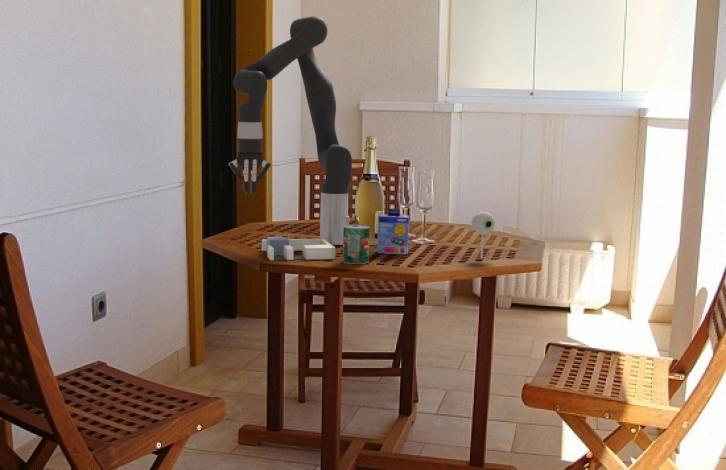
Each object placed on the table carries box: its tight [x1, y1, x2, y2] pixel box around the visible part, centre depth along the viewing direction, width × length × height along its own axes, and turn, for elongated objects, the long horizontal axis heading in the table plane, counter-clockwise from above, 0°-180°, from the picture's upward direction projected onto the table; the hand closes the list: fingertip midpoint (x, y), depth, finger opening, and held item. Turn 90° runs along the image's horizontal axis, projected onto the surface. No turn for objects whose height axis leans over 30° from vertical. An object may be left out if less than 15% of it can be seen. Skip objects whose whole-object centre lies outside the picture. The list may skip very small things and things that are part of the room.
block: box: [266, 236, 290, 256], centre depth 289 cm, size 6×6×5 cm
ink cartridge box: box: [377, 208, 410, 256], centre depth 295 cm, size 10×6×14 cm, turn 87°
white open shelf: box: [261, 238, 336, 261], centre depth 288 cm, size 20×18×4 cm
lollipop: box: [471, 211, 496, 260], centre depth 288 cm, size 7×7×15 cm
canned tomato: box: [342, 223, 371, 265], centre depth 277 cm, size 8×8×11 cm
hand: (249, 193), depth 284 cm, fingers closed
